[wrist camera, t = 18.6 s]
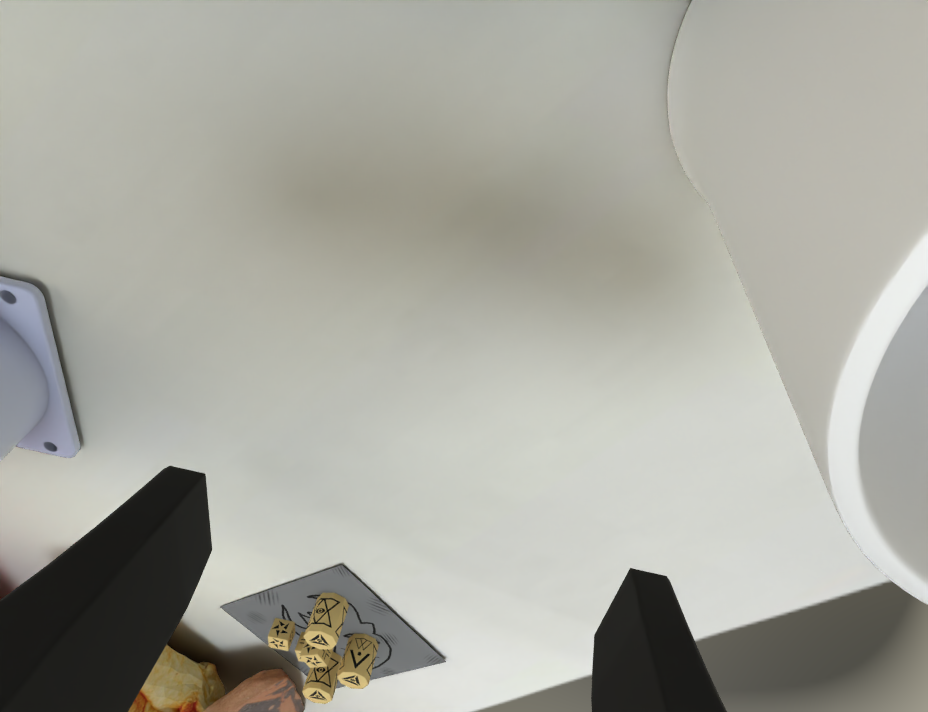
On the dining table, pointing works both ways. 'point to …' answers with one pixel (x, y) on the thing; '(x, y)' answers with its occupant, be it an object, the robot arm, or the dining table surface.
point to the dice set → (333, 632)
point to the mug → (827, 231)
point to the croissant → (179, 685)
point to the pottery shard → (261, 695)
